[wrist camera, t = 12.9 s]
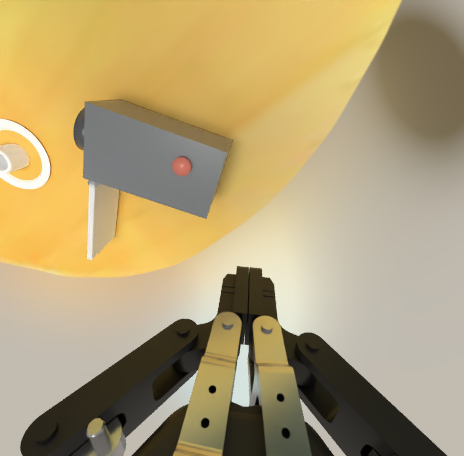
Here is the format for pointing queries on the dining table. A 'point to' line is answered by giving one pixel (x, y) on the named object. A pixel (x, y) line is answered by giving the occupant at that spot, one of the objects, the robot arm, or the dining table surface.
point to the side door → (101, 217)
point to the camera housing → (150, 155)
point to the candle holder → (21, 158)
